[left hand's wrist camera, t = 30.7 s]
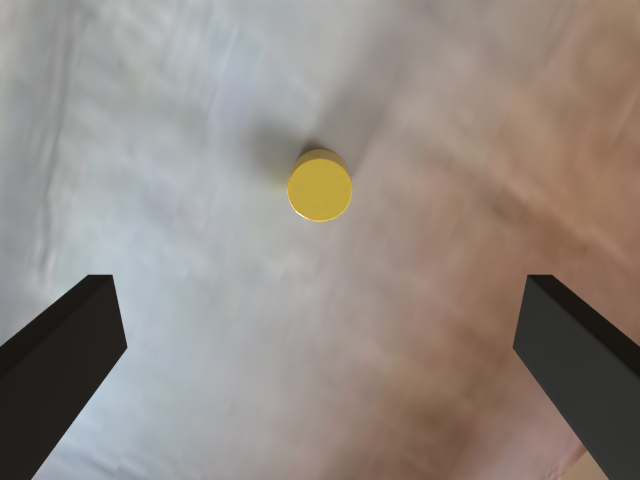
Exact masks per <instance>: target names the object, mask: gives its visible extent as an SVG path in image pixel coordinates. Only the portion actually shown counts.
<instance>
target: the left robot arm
mask: <svg viewBox="0 0 640 480" xmlns="http://www.w3.org/2000/svg"><path fill="white" fill-rule="evenodd" d="M126 349H127V343H126V338H125V333H124V328H123V324H122V319H121V314H120V309H119V304H118V299H117V295H116V290H115V285H114V280H113V275H87V276H86V277H85V278H84V279H82V280H81V281H80V282H79V283H78V284H76V285H75V286H74V287H73V288H71V289H70V290H69V291H68V292H67V293H65V294H64V295H63V296H62V297H60V298H59V299H58V300H57V301H56V302H54V303H53V304H52V305H51V306H49V307H48V308H47V309H46V310H45V311H43V312H42V313H41V314H40V315H38V316H37V317H36V318H35V319H34V320H32V321H31V322H30V323H29V324H28V325H26V326H25V327H24V328H23V329H21V330H20V331H19V332H18V333H17V334H15V335H14V336H13V337H12V338H10V339H9V340H8V341H7V342H6V343H4V344H3V345H2V346H1V347H0V480H31V479H32V477H33V476H34V475H35V473H36V472H37V471H38V469H39V468H40V466H41V465H42V464H43V462H44V461H45V460H46V458H47V457H48V456H49V454H50V453H51V451H52V450H53V449H54V447H55V446H56V445H57V443H58V442H59V441H60V439H61V438H62V436H63V435H64V434H65V432H66V431H67V430H68V428H69V427H70V426H71V424H72V423H73V421H74V420H75V419H76V417H77V416H78V415H79V413H80V412H81V410H82V409H83V408H84V406H85V405H86V404H87V402H88V401H89V400H90V398H91V397H92V395H93V394H94V393H95V391H96V390H97V389H98V387H99V386H100V385H101V383H102V382H103V380H104V379H105V378H106V376H107V375H108V374H109V372H110V371H111V369H112V368H113V367H114V365H115V364H116V363H117V361H118V360H119V359H120V357H121V356H122V354H123V353H124V352H125V350H126ZM513 349H514V350H515V352H516V353H517V354H518V356H519V357H520V359H521V360H522V361H523V363H524V364H525V365H526V367H527V368H528V369H529V371H530V372H531V374H532V375H533V376H534V378H535V379H536V380H537V382H538V383H539V385H540V386H541V387H542V389H543V390H544V391H545V393H546V394H547V395H548V397H549V398H550V400H551V401H552V402H553V404H554V405H555V406H556V408H557V409H558V410H559V412H560V413H561V415H562V416H563V417H564V419H565V420H566V421H567V423H568V424H569V426H570V427H571V428H572V430H573V431H574V432H575V434H576V435H577V436H578V438H579V439H580V441H581V442H582V443H583V445H584V446H585V447H586V449H587V450H588V451H589V453H590V454H591V456H592V457H593V458H594V460H595V461H596V462H597V464H598V465H599V467H600V468H601V469H602V471H603V472H604V473H605V475H606V476H607V477H608V479H609V480H640V347H639V346H638V345H637V344H636V343H634V342H633V341H632V340H631V339H630V338H628V337H627V336H626V335H625V334H623V333H622V332H621V331H620V330H619V329H617V328H616V327H615V326H614V325H612V324H611V323H610V322H609V321H608V320H606V319H605V318H604V317H603V316H602V315H600V314H599V313H598V312H597V311H595V310H594V309H593V308H592V307H591V306H589V305H588V304H587V303H586V302H584V301H583V300H582V299H581V298H580V297H578V296H577V295H576V294H575V293H573V292H572V291H571V290H570V289H569V288H567V287H566V286H565V285H564V284H562V283H561V282H560V281H559V280H558V279H556V278H555V277H554V276H553V275H527V280H526V285H525V290H524V295H523V299H522V304H521V309H520V314H519V319H518V324H517V328H516V333H515V338H514V343H513Z"/></svg>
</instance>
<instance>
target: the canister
mask: <svg viewBox="0 0 640 480" xmlns="http://www.w3.org/2000/svg"><path fill="white" fill-rule="evenodd" d="M287 192H288V198H289V201H290V203H291V205H292V207H293V208H294V209H295V211H296V212H297V213H298V214H300V215H301V216H303V217H304V218H306V219H309V220H312V221H328V220H331V219H334V218H335V217H337V216H339V215H340V214H341V213H342V212H343V211H344V210H345V209H346V208H347V206H348V205H349V203H350V200H351V197H352V183H351V179H350V176H349V173H348V170H347V167H346V165H345V163H344V161H343V160H342V159H341V158H340V157H339V156H338V155H337V154H335V153H334V152H332V151H329V150H326V149H314V150H310V151H308V152H306V153H304V154H303V155H302V156H300V157H299V158H298V160H297V161H296V163H295V164H294V166H293V169H292V172H291V175H290V178H289V182H288V187H287Z"/></svg>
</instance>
